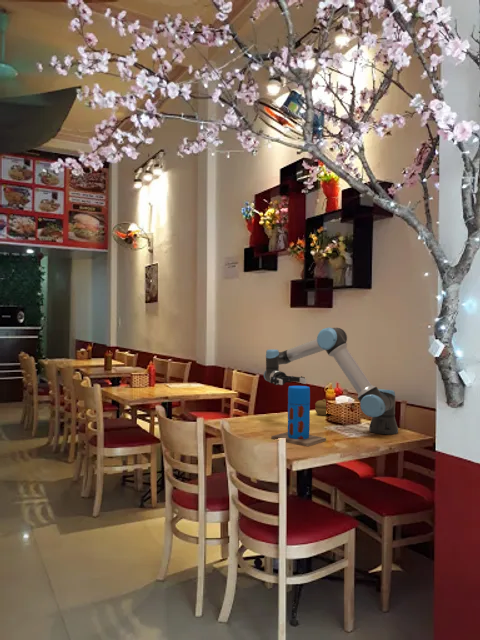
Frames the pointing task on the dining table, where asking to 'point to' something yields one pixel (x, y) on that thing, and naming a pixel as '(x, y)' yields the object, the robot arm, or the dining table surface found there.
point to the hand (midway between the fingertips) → (293, 381)
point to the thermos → (298, 412)
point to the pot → (321, 407)
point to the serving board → (303, 442)
